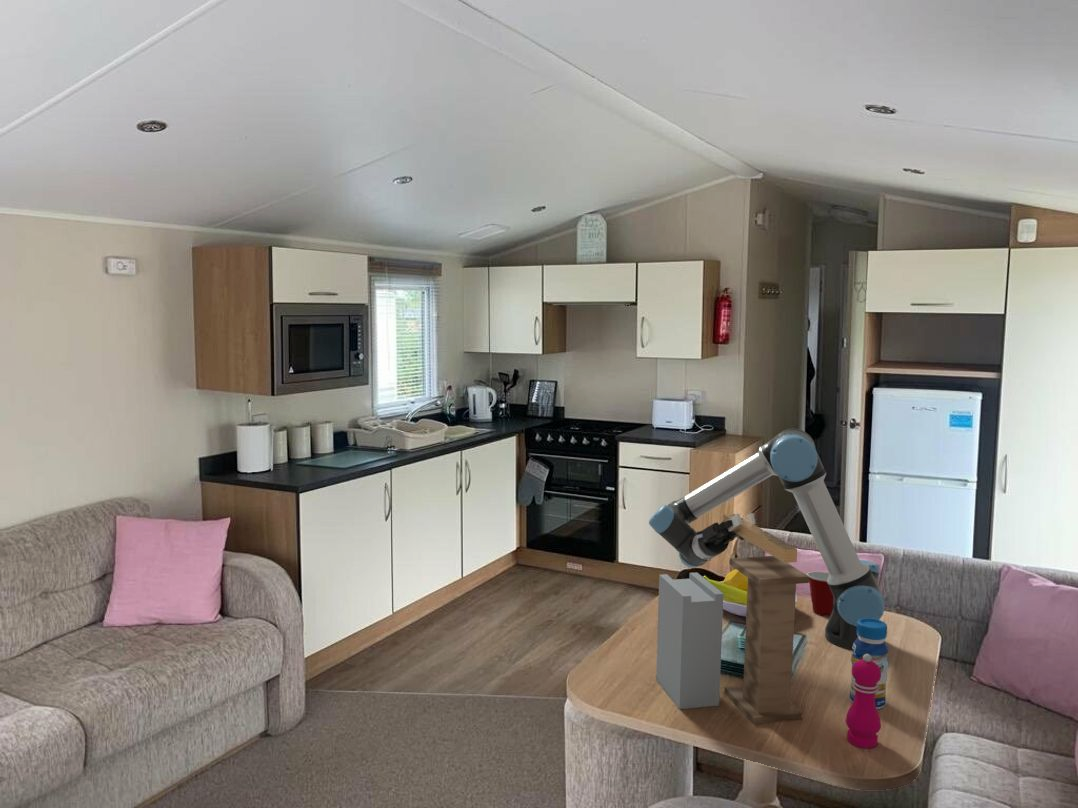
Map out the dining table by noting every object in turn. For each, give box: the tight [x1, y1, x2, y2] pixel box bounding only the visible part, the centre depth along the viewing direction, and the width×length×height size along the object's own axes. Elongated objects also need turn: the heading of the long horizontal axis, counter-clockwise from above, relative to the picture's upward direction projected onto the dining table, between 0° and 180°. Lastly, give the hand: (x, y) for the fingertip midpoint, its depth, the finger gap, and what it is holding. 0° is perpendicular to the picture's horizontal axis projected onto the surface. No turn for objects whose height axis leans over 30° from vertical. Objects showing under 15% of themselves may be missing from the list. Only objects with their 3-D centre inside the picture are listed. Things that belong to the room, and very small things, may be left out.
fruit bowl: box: [702, 568, 797, 618], centre depth 270 cm, size 28×27×11 cm
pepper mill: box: [845, 654, 882, 749], centre depth 190 cm, size 7×7×20 cm
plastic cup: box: [806, 571, 834, 616], centre depth 269 cm, size 11×11×12 cm
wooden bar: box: [722, 513, 798, 564], centre depth 208 cm, size 32×3×3 cm, turn 13°
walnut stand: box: [723, 555, 809, 725], centre depth 205 cm, size 16×12×34 cm
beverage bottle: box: [849, 618, 890, 710], centre depth 208 cm, size 8×8×20 cm
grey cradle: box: [655, 571, 724, 710], centre depth 212 cm, size 16×10×28 cm, turn 12°
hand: (746, 518), depth 214 cm, fingers closed on wooden bar, 3 cm apart
